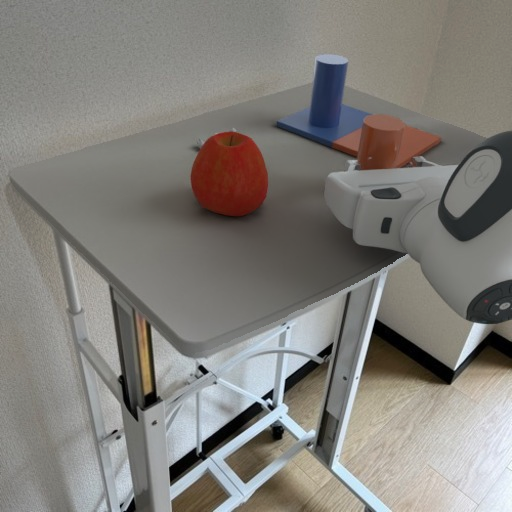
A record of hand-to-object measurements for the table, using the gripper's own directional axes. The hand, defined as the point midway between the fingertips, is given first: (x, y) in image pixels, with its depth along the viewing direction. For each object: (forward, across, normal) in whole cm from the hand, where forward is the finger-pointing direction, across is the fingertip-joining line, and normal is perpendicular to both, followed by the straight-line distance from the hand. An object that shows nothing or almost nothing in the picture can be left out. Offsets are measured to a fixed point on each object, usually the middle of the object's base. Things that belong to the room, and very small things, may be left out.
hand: (383, 162), depth 75 cm
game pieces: (+21, +20, +6) cm, 29 cm away
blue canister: (+26, 0, +5) cm, 26 cm away
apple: (+1, +21, +6) cm, 22 cm away
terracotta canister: (+2, 0, +6) cm, 6 cm away
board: (+22, -6, +6) cm, 24 cm away
